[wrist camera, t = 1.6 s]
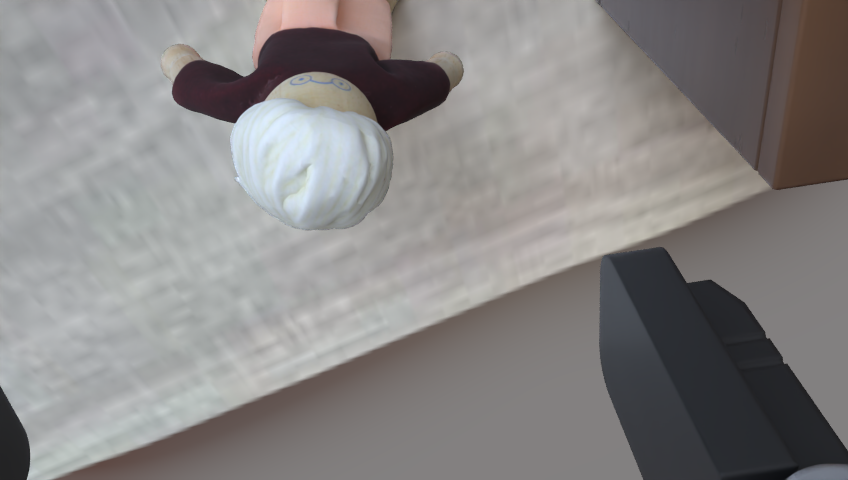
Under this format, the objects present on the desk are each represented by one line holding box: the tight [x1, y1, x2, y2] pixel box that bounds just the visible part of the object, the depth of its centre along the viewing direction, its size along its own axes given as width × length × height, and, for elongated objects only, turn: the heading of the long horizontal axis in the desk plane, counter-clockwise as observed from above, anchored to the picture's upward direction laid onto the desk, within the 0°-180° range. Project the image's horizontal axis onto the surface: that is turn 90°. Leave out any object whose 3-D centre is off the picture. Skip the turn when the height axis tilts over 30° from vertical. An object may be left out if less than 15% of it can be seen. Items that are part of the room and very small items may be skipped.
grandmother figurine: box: [161, 0, 464, 230], centre depth 20 cm, size 8×4×13 cm, turn 97°
